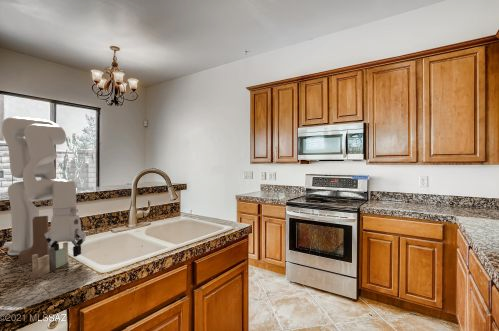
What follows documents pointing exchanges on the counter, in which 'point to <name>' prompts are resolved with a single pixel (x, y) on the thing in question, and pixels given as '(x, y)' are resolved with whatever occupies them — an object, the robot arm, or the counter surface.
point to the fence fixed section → (43, 263)
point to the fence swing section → (61, 256)
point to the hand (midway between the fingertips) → (66, 254)
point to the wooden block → (37, 240)
